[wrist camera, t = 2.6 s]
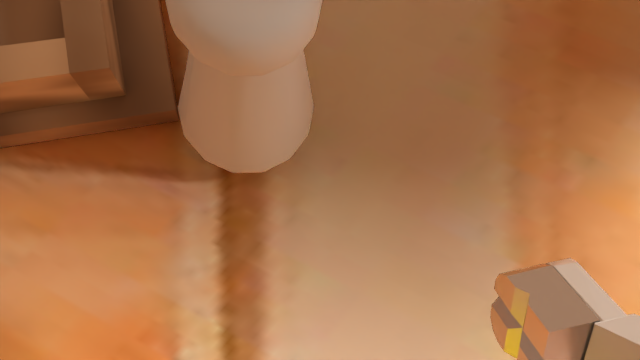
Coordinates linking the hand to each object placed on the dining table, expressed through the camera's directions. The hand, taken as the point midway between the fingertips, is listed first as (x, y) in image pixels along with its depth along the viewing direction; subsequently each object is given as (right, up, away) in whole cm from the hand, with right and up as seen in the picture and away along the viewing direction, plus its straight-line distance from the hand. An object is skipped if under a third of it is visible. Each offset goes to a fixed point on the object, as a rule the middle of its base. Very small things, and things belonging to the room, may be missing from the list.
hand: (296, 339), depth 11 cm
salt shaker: (-3, +6, +16) cm, 18 cm away
